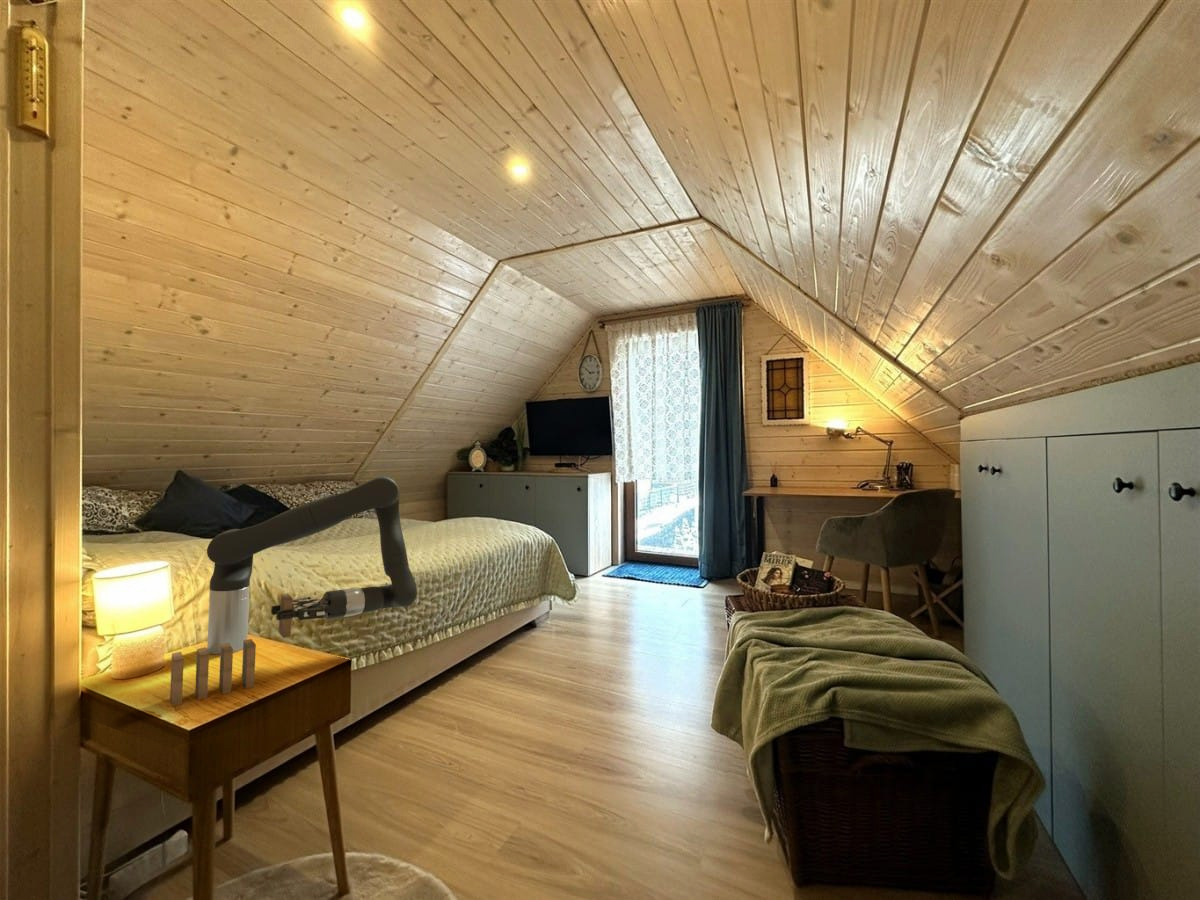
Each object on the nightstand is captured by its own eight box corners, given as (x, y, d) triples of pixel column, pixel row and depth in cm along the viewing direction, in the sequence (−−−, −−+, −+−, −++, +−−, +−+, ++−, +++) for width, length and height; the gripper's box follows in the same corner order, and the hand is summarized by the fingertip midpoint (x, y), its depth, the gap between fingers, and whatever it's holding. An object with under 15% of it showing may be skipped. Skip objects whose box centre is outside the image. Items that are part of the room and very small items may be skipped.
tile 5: (170, 698, 118) (171, 653, 118) (179, 696, 119) (181, 651, 119) (172, 706, 115) (174, 660, 115) (181, 704, 116) (183, 658, 116)
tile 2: (241, 681, 127) (243, 640, 128) (249, 680, 129) (251, 638, 129) (246, 688, 124) (247, 646, 124) (254, 686, 125) (255, 644, 125)
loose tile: (278, 632, 139) (280, 594, 139) (285, 631, 140) (287, 593, 140) (283, 637, 135) (285, 598, 136) (290, 636, 137) (292, 598, 137)
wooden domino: (195, 692, 121) (197, 648, 121) (203, 690, 122) (205, 647, 122) (198, 700, 118) (200, 655, 118) (207, 698, 119) (209, 653, 119)
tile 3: (219, 687, 124) (220, 644, 125) (227, 685, 125) (229, 643, 126) (222, 694, 121) (224, 650, 121) (231, 692, 122) (233, 649, 122)
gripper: (336, 584, 153) (268, 592, 141) (353, 595, 143) (282, 605, 131) (334, 610, 153) (266, 620, 141) (351, 623, 143) (280, 635, 131)
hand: (274, 613), depth 136 cm, fingers closed on loose tile, 5 cm apart
